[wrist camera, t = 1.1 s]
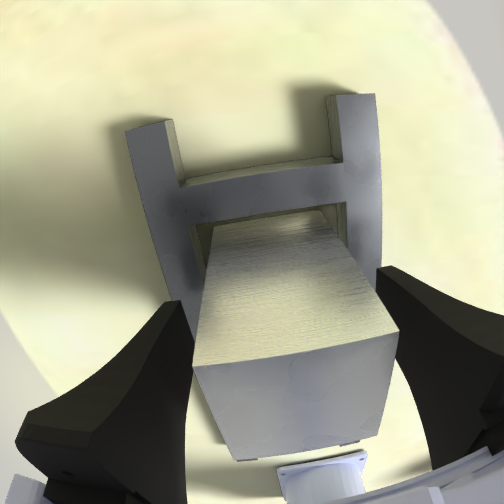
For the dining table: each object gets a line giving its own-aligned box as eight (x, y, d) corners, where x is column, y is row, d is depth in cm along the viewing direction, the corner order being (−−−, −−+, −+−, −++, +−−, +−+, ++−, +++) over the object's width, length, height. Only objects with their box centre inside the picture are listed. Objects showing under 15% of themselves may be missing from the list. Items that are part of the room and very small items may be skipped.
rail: (354, 426, 21) (359, 442, 20) (237, 445, 21) (237, 461, 20) (360, 93, 11) (374, 93, 10) (137, 128, 12) (124, 131, 10)
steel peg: (325, 297, 15) (377, 435, 8) (233, 312, 16) (233, 460, 8) (319, 209, 14) (399, 330, 6) (214, 226, 14) (192, 366, 6)
